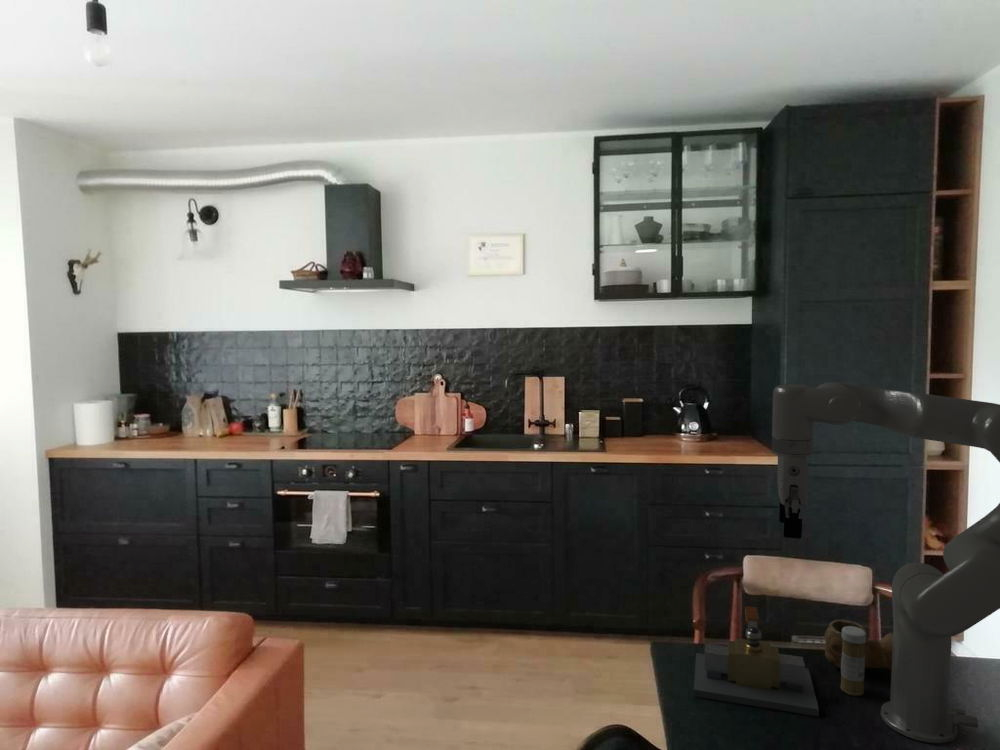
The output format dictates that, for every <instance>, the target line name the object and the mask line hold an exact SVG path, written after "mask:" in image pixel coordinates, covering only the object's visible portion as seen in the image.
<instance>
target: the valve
mask: <svg viewBox="0 0 1000 750" xmlns="http://www.w3.org/2000/svg"><path fill="white" fill-rule="evenodd" d="M704 654H705V662H704V670H707V678H710V679H717V680H721V672H722V673H728V680H730V681H736V685H740V686H747V687H753V688H760V689H766V690H771V687H776V688H779V684H780V681H783V682H785V685H786V690H789V691H796V692H802V684H803V685H804V683H805V668H806V665H805V661H804V657H803V656H798V655H790V654H784V653H780V652H779V647H778V646H771V644H770V642H768V641H761V640H751V639H748V638H747V639H745V638H737V637H735V640H727V646H724V645H717V644H711V643H704Z"/></svg>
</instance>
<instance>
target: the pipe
mask: <svg viewBox="0 0 1000 750" xmlns="http://www.w3.org/2000/svg"><path fill="white" fill-rule="evenodd" d="M846 626H853V627H857V628H860V629H862V630H864V631H865V632H866V643H865V669H887V670H889V671H891V668H892V644H893V632H889V633H886V634H885V635H884V637H882V638H881V639H879V640H875V639H869V638H868V637H869V635H868V632H867V630H866V628H865V626H864V625H862V624H860V623H858V622H855V621H853V620H847V619H835V620H833V621H830V622H829V623H828V627H827V628H826V630H825V631H824V641H825V643H824V648H825V650H824V652H825V653H824V655H825V657H826V659H827V661H828V662H829V663H830V664H831V665H833V666H835V667H836V668H838V669H840V670H841V659H842V628H843V627H846Z"/></svg>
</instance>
